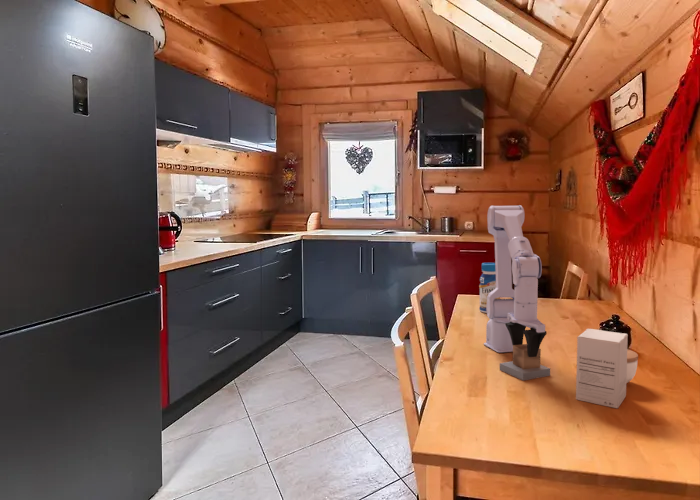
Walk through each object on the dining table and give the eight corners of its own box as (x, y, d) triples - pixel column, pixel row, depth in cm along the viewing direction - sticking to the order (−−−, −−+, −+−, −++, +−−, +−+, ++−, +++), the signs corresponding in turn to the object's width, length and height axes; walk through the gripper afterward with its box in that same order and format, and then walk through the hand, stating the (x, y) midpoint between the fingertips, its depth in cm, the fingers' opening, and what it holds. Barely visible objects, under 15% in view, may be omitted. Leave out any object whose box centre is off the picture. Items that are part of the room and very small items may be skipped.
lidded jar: (611, 392, 119) (612, 353, 118) (579, 377, 129) (580, 341, 128) (647, 387, 122) (649, 349, 121) (613, 373, 132) (614, 338, 131)
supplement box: (585, 388, 122) (587, 327, 120) (626, 396, 116) (629, 333, 115) (574, 399, 115) (576, 335, 113) (617, 409, 109) (620, 342, 108)
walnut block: (512, 363, 135) (512, 345, 135) (528, 361, 136) (529, 343, 136) (523, 369, 130) (523, 350, 130) (540, 367, 132) (540, 348, 131)
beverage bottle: (498, 309, 211) (499, 262, 209) (501, 313, 203) (502, 264, 201) (478, 309, 212) (478, 262, 210) (480, 313, 204) (480, 264, 202)
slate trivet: (499, 372, 136) (499, 363, 136) (525, 367, 139) (525, 358, 139) (522, 382, 127) (522, 373, 127) (550, 377, 131) (550, 368, 131)
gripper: (497, 297, 138) (497, 346, 139) (527, 308, 124) (526, 362, 125) (520, 296, 139) (519, 344, 140) (553, 306, 125) (551, 359, 126)
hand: (524, 352), depth 133 cm, fingers open, 6 cm apart
